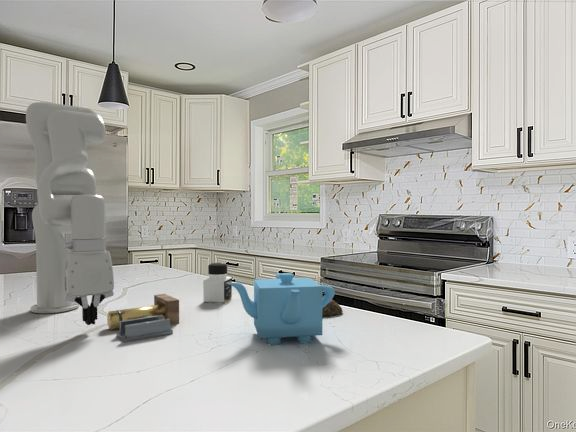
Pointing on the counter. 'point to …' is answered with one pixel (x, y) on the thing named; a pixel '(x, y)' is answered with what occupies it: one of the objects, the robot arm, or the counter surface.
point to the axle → (133, 314)
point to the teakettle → (286, 307)
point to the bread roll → (331, 309)
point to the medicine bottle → (217, 284)
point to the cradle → (143, 328)
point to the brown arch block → (168, 307)
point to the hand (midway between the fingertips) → (90, 323)
